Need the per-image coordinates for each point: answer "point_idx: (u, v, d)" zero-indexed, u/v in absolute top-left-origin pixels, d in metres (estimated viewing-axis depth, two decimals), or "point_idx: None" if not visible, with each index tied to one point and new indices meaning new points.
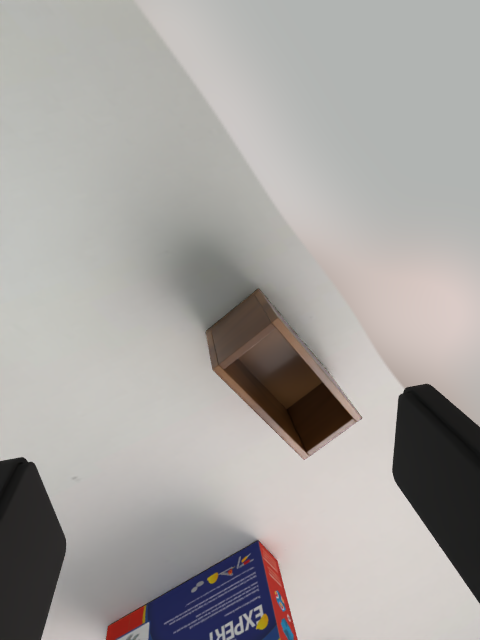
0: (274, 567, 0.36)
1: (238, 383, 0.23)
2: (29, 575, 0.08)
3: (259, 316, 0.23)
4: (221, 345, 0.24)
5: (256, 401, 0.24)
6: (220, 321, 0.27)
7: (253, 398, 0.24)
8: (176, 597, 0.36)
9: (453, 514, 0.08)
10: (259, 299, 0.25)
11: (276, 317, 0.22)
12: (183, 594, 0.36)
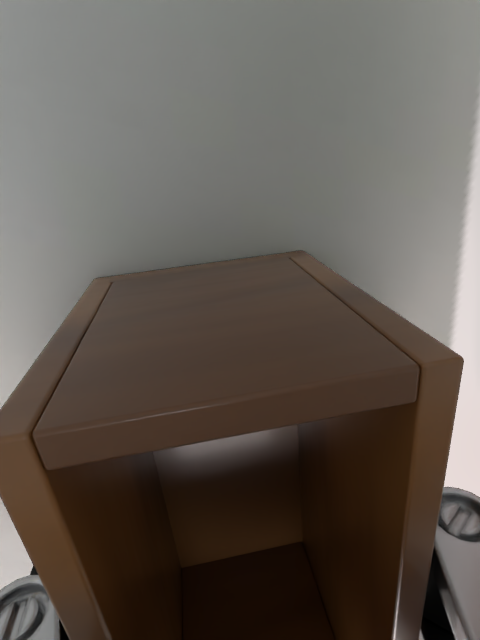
0: None
1: (86, 553, 0.04)
2: None
3: (324, 313, 0.05)
4: (112, 340, 0.05)
5: (123, 635, 0.05)
6: (154, 273, 0.08)
7: (115, 628, 0.05)
8: None
9: None
10: (312, 270, 0.07)
11: (450, 353, 0.04)
12: None
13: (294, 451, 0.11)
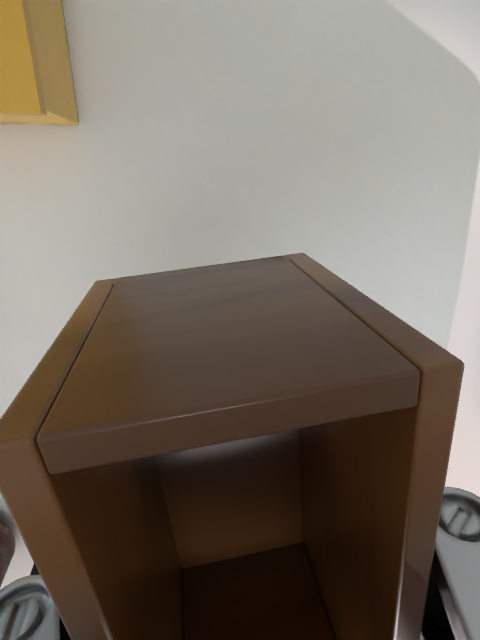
0: None
1: (88, 556, 0.04)
2: None
3: (325, 316, 0.05)
4: (114, 344, 0.05)
5: (125, 638, 0.05)
6: (155, 275, 0.08)
7: (118, 630, 0.05)
8: None
9: None
10: (312, 273, 0.07)
11: (451, 358, 0.04)
12: None
13: (295, 452, 0.11)
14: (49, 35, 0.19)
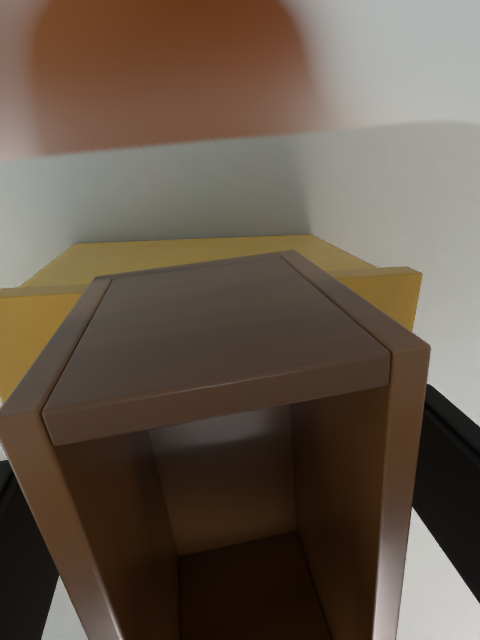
0: None
1: (89, 526, 0.05)
2: (29, 575, 0.08)
3: (309, 307, 0.06)
4: (113, 332, 0.06)
5: (122, 605, 0.06)
6: (152, 271, 0.09)
7: (116, 597, 0.06)
8: None
9: (453, 514, 0.08)
10: (301, 268, 0.08)
11: (419, 342, 0.05)
12: None
13: (287, 443, 0.11)
14: None
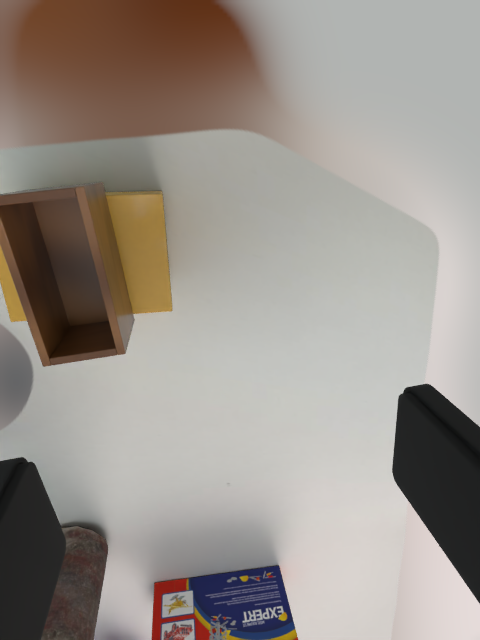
0: None
1: (7, 234, 0.20)
2: (29, 575, 0.08)
3: (73, 186, 0.21)
4: (17, 192, 0.21)
5: (20, 268, 0.21)
6: (44, 188, 0.24)
7: (17, 262, 0.21)
8: (214, 581, 0.53)
9: (453, 514, 0.08)
10: (91, 183, 0.23)
11: (82, 186, 0.20)
12: (220, 581, 0.53)
13: None
14: None
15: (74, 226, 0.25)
